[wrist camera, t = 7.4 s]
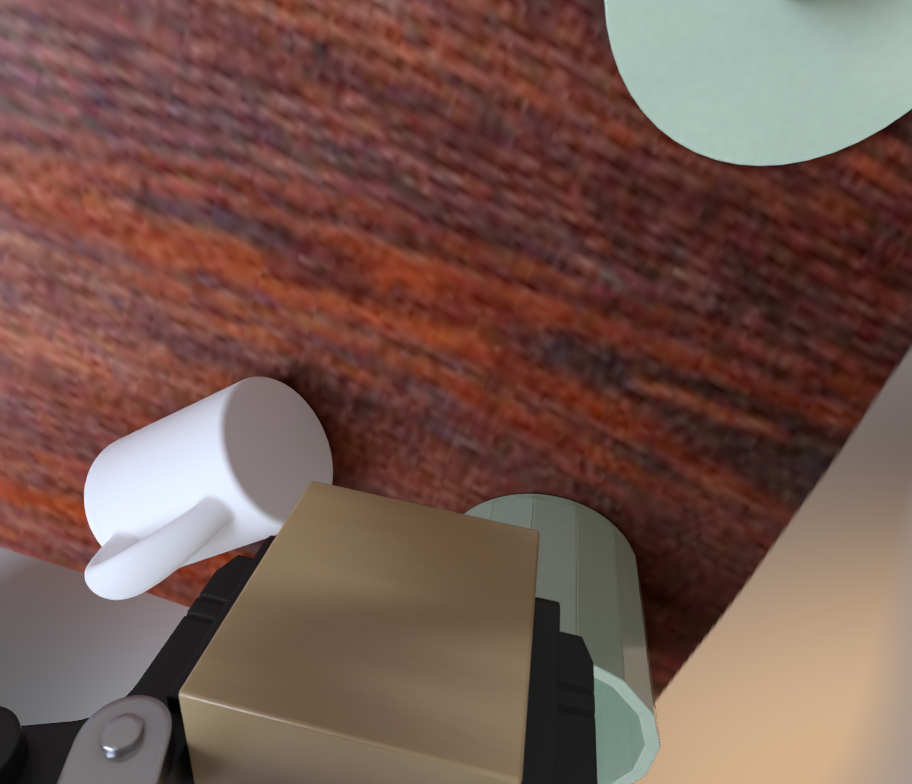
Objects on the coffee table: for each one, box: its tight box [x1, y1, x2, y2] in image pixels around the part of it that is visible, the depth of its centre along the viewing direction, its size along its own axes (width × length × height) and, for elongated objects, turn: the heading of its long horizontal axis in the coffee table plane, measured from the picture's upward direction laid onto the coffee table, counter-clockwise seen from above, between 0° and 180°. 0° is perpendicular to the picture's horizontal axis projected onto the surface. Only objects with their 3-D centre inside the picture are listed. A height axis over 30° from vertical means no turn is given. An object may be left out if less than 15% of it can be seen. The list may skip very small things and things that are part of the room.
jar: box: [465, 494, 660, 784], centre depth 33 cm, size 12×12×10 cm
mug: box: [84, 377, 333, 600], centre depth 31 cm, size 8×10×12 cm
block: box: [178, 481, 540, 784], centre depth 10 cm, size 4×4×4 cm
